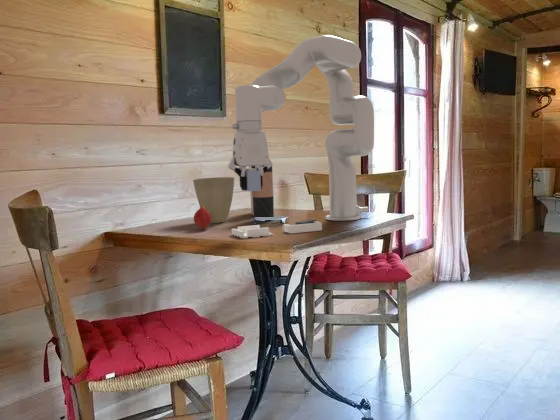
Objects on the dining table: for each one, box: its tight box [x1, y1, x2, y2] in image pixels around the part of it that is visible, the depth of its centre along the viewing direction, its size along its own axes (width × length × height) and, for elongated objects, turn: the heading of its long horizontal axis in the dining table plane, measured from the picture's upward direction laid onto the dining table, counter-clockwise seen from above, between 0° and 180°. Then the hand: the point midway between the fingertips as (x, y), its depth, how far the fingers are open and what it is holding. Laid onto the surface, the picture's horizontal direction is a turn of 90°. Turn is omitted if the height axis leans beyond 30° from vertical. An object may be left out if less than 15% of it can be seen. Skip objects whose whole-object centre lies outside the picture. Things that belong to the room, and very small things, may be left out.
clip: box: [283, 220, 323, 234], centre depth 180 cm, size 11×4×2 cm, turn 114°
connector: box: [241, 167, 261, 192], centre depth 173 cm, size 4×5×7 cm
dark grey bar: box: [294, 218, 317, 225], centre depth 182 cm, size 9×3×3 cm, turn 147°
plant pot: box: [192, 176, 235, 224], centre depth 210 cm, size 15×15×16 cm
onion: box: [193, 206, 212, 231], centre depth 191 cm, size 6×6×8 cm
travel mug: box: [252, 165, 275, 218], centre depth 210 cm, size 8×8×20 cm
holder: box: [231, 224, 274, 239], centre depth 174 cm, size 10×8×2 cm
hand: (251, 188), depth 173 cm, fingers closed on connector, 4 cm apart
